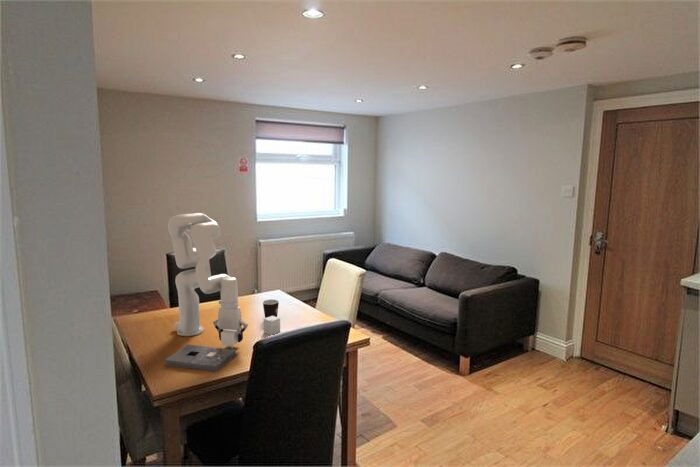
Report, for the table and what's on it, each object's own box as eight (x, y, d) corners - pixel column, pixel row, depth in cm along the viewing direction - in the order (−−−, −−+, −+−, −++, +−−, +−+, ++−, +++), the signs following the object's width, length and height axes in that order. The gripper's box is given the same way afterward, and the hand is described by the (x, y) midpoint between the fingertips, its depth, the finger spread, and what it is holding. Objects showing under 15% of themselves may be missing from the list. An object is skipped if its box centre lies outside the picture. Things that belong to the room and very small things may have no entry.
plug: (221, 349, 193) (220, 332, 191) (228, 343, 200) (228, 327, 198) (233, 351, 191) (232, 333, 190) (240, 345, 198) (240, 328, 197)
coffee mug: (270, 323, 226) (270, 305, 224) (259, 319, 231) (259, 302, 230) (286, 317, 235) (286, 300, 234) (275, 314, 240) (275, 297, 239)
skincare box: (272, 328, 219) (272, 315, 217) (280, 331, 215) (280, 318, 214) (263, 332, 214) (263, 318, 213) (271, 335, 210) (271, 321, 209)
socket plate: (165, 365, 177) (164, 358, 177) (187, 349, 193) (187, 342, 192) (216, 372, 172) (216, 364, 172) (235, 355, 187) (235, 348, 187)
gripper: (208, 305, 190) (209, 341, 193) (243, 308, 187) (244, 345, 189) (216, 300, 198) (218, 335, 200) (250, 303, 194) (251, 338, 197)
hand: (231, 340), depth 195 cm, fingers open, 8 cm apart
